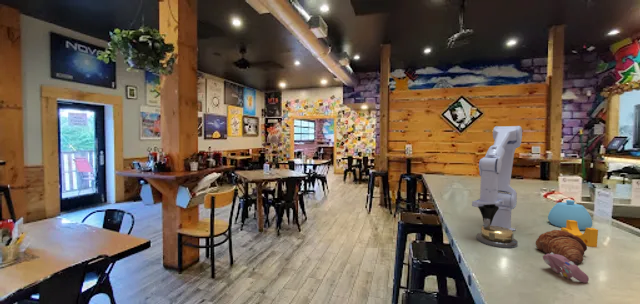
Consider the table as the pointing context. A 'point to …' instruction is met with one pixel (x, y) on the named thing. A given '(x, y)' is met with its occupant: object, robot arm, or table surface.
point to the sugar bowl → (570, 215)
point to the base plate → (497, 244)
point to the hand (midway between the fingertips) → (487, 224)
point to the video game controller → (565, 267)
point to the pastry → (562, 245)
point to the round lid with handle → (496, 232)
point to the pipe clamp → (588, 236)
